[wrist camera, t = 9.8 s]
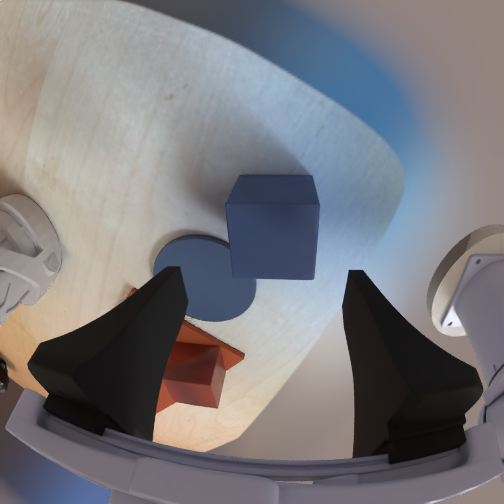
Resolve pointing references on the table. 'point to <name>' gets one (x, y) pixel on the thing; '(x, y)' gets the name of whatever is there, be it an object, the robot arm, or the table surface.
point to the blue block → (273, 227)
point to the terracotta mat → (197, 337)
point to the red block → (195, 374)
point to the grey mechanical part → (25, 253)
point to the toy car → (3, 377)
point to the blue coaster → (208, 278)
